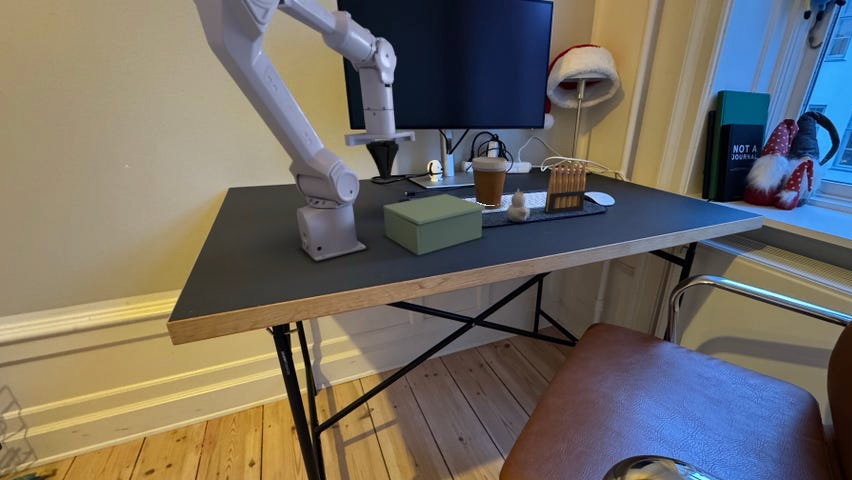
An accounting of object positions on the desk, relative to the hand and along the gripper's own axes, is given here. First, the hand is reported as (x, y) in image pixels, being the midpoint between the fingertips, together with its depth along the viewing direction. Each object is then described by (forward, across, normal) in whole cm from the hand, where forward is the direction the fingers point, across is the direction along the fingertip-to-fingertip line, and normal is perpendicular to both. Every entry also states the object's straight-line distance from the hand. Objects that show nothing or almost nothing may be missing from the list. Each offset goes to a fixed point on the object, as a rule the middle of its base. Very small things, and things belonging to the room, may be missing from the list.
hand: (385, 178), depth 78 cm
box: (+10, -4, +12) cm, 16 cm away
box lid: (+4, -4, +12) cm, 14 cm away
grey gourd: (+11, -25, +16) cm, 31 cm away
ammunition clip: (+11, -41, +17) cm, 46 cm away
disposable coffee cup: (+11, -28, +2) cm, 30 cm away
